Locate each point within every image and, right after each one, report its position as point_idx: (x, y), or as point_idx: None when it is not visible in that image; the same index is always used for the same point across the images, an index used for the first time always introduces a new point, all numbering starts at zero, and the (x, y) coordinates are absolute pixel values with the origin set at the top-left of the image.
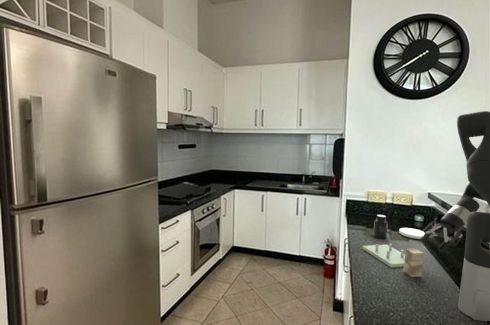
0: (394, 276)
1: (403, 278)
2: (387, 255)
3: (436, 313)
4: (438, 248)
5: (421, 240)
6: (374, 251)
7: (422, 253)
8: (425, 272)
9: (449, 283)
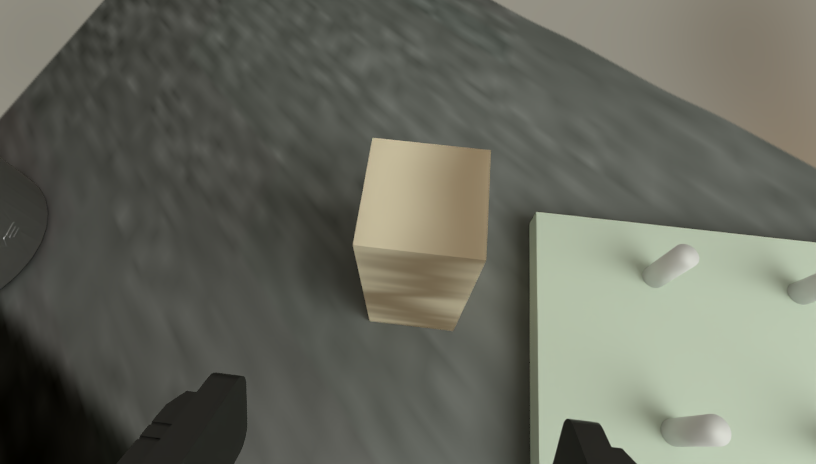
0: None
1: None
2: (658, 259)
3: (95, 69)
4: (228, 376)
5: (574, 420)
6: (778, 262)
7: (355, 234)
8: (406, 421)
9: None
